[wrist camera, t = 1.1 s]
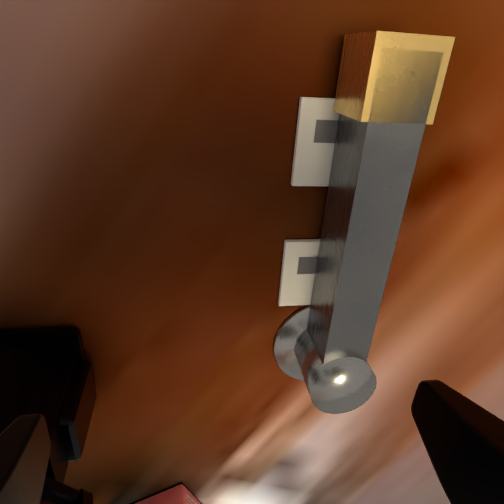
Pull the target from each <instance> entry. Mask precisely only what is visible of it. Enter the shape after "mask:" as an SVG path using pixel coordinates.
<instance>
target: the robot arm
mask: <svg viewBox="0 0 504 504" xmlns="http://www.w3.org/2000/svg"><path fill="white" fill-rule="evenodd" d="M66 335H71V336H72V337H73V338H68V337H67V336H66ZM95 400H96V389H95V383H94V377H93V371H92V365H91V363H90V362H89V361H88V360H85V357H84V351H83V346H82V340H81V334H80V332H79V330H78V329H77V328H74V327H50V328H30V329H10V330H0V504H93V498H92V493H91V492H88V491H86V490H84V489H80V490H78V489H75V488H73V487H71V486H69V485H66V484H64V483H63V481H64V477H65V473H66V470H67V466H68V463H69V462H72V461H77V460H78V459H79V458H80V457H81V456H82V452H83V448H84V444H85V440H86V436H87V432H88V428H89V424H90V420H91V416H92V412H93V408H94V404H95ZM411 411H412V416H413V418H414V421H415V423H416V426H417V428H418V431H419V433H420V435H421V438H422V440H423V443H424V445H425V448H426V450H427V453H428V455H429V457H430V460H431V462H432V465H433V467H434V470H435V472H436V474H437V476H438V479H439V481H440V483H441V485H442V487H443V489H444V491H445V493H446V495H447V497H448V499H449V501H450V503H451V504H504V421H503V420H501V419H499V418H498V417H496V416H495V415H493V414H492V413H490V412H488V411H487V410H485V409H484V408H482V407H481V406H479V405H477V404H476V403H474V402H473V401H471V400H470V399H468V398H466V397H465V396H463V395H462V394H460V393H459V392H457V391H455V390H454V389H452V388H451V387H449V386H448V385H446V384H444V383H443V382H441V381H439V380H425V381H421V382H420V383H419V385H418V387H417V390H416V393H415V396H414V399H413V402H412V405H411Z"/></svg>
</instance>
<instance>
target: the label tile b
mask: <svg viewBox="0 0 504 504" xmlns="http://www.w3.org/2000/svg"><path fill="white" fill-rule="evenodd" d="M334 104H335V98H318V97H300V101H299V110H298V119H297V129H296V138H295V147H294V157H293V166H292V176H291V185H292V186H329V179H330V173H331V166H332V159H333V153H334V146H335V140H336V133H337V127H338V120H339V113H337V112H334Z"/></svg>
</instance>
